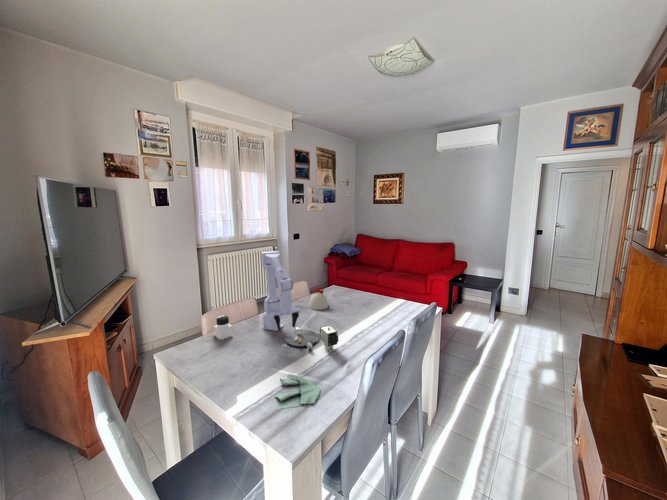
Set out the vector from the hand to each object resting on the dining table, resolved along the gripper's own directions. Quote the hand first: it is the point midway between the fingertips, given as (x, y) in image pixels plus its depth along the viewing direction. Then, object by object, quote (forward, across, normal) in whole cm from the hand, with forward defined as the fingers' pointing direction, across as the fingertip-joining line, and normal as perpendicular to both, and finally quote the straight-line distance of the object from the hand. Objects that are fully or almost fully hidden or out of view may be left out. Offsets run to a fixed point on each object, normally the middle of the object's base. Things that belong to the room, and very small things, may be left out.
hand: (286, 328), depth 142 cm
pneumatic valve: (+9, +17, -16) cm, 25 cm away
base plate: (+8, +8, 0) cm, 12 cm away
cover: (+4, +6, 0) cm, 7 cm away
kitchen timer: (+9, +34, +42) cm, 55 cm away
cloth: (+9, -8, -36) cm, 38 cm away
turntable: (+8, +8, 0) cm, 12 cm away
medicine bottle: (+9, -29, +20) cm, 36 cm away
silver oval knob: (+8, +8, -12) cm, 17 cm away
